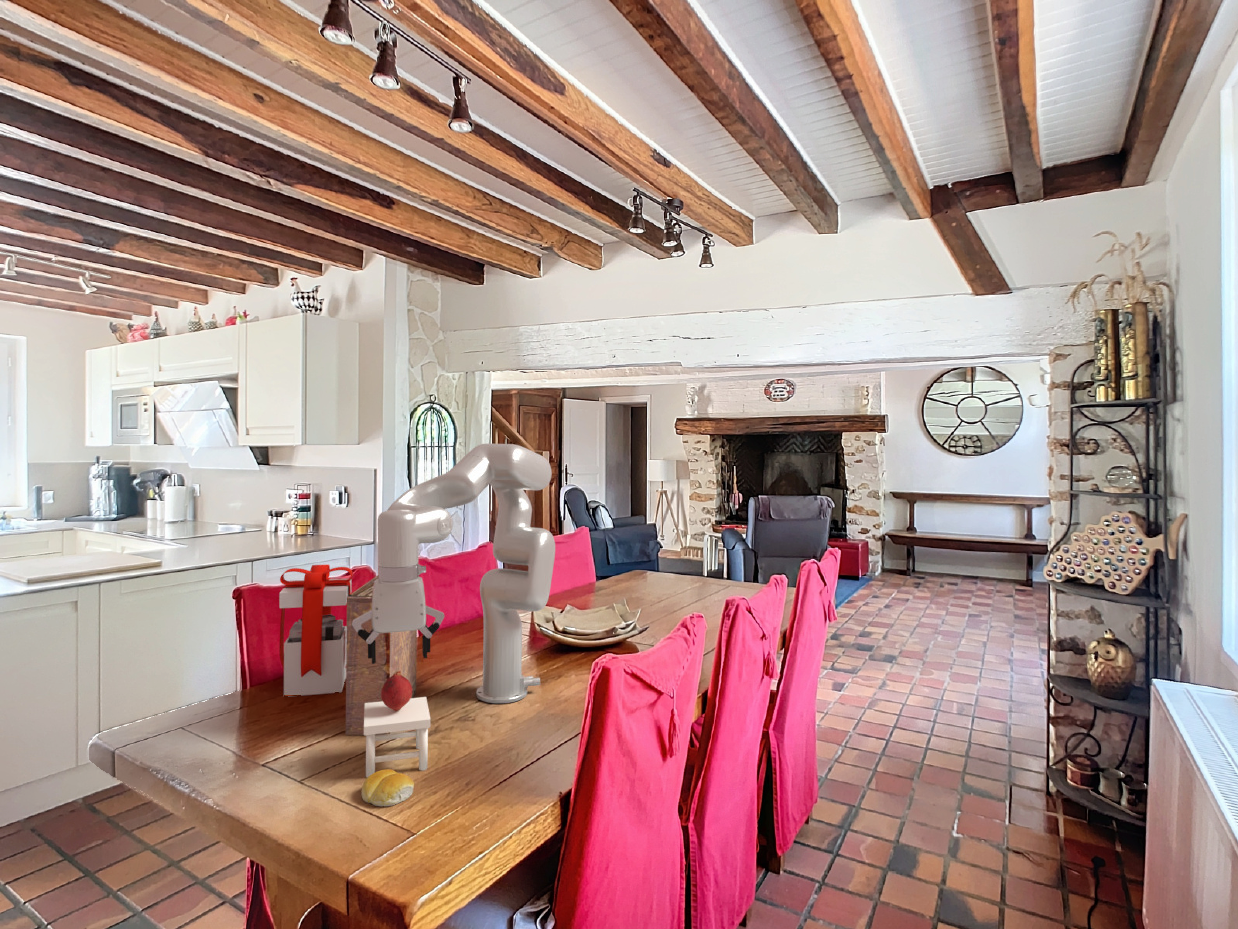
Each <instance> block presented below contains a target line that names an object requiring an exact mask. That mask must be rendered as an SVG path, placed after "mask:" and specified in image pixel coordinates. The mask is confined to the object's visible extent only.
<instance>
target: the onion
mask: <svg viewBox="0 0 1238 929" xmlns="http://www.w3.org/2000/svg"><path fill="white" fill-rule="evenodd" d="M411 696H412V686H411V683H410V682H409V681H408V679H406V678H405V677H404V676H402V675H401V671H400V670H397V671H396V672H395V673H394V674H393V676H391V677H390V678H389V679H388V680H387V681H386V682H385V683H384V685H383V687H382V690H381V698H382V701H383V702H384V704H385V705H386V706H387V707H389V708H391V709H393V710H395V711H399V710H400V709H401V708H402V707H403V706H404V705H406V704H407V703H408V702H409V700H410V699H411Z"/></svg>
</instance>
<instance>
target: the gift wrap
mask: <svg viewBox="0 0 1238 929" xmlns="http://www.w3.org/2000/svg"><path fill="white" fill-rule="evenodd" d="M330 567H331V566H330V564H312V565H311V568H310V570H308V569H305V568H299V567H298V568H297V567H295V568H292V567H291V568H289V569H286V570H285V571H284V572H283V573H282V574H281V576H280V577H279V578H280V579H279V581H280V583H281V584H282V585H284V586H283V587H282V590H281V591H280V592H279V596H278V598H279V605H278V606H279V609H281V610H280V612H281V613H280V614H281V615H280V623H279V624H280V625H279V626H280V627H279V628H280V629H279V659H280V664H281V666H282V669H283V696H284V695H301V696H312V695H325V694H334V693H335V692H339V693H343V690H344V686H345V683H346V644H347V625H344V619H336V618H337V617H336V616H335V615H333V614H332V607H337V606H347V596H349V595H350V594H352V578H353V576H354V572H353V570H352V569H351V568H350V567H347V566H337V567H332V568H330ZM336 571H345V572H348V573H349V575H350V577H349V578H331V577H330V573H331V572H336ZM292 572H293V573H296V572H297V573H300V574H304V578H303V579H302V580H301V579H298V580H297V579H296V580H294V579H293V580H290V581H289V580H286V579H285V574H287V573H292ZM292 608H294V609H295V608H302V609H301V610H302V611H301V618H300V619H298V621H295V622H294V623H293V625H292V626H291V628H290V629H289V635H288V637H287V638H286V640H285V639H284V638H285V613H286V609H292ZM284 640H285V641H284ZM344 682H345V683H344ZM335 694H336V693H335Z"/></svg>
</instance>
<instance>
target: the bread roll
mask: <svg viewBox="0 0 1238 929" xmlns="http://www.w3.org/2000/svg"><path fill="white" fill-rule="evenodd" d="M362 784H363V785H362V787H361V798H362V799H363V801H364V802H365V803H367V804H371V805H373V806H374V807H375V806H376V807H383V806H384V807H392V806H395V804H396V805H398V804H400V803H402V801H403V802H404V801H406V800H407V799H409V798H410V797H411V796H412V794H413V792H414V787H415V782H414V780H413V778H411V777H410V776H409V775H406V774H404V773H401V772H398V771H395V770H393V769H389V768H387V769H381V770H377V771H375V773H373V774H371V775H370V776H369V777H368V778H367V777H366V778H365V780H364V782H363V783H362Z"/></svg>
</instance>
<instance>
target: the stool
mask: <svg viewBox="0 0 1238 929" xmlns="http://www.w3.org/2000/svg"><path fill="white" fill-rule="evenodd" d="M429 728H431V714H430V710H429V704H428V699H427V696H422V697H421V696H420V697H413V698H411V699H410V700H409V702H408V703H407V704H406V705H404V706H403V707H402V708H401V709H400V710H399V711H395V710H393V709H391V708H389V707H387V706H386V705H385V704H384V702H383V701H381V702H372V703H365V709H364V735H363V736H365V778H366V779H367V778H368V777H369V776H370V775H371V774H373V773H375V772H376V764H377V763H383V762H389V761H390V762H392V761H397V760H398V761H399V760H405V759H412V758H418V770H419V771H427V770H428V752H429V751H428V750H429V749H428V748H429V747H428V743H429V740H428V739H429ZM389 732H391V733H390V734H385V735H375V734H380V733H389ZM395 732H396V733H395ZM412 737H415V749H416V751H409V752H400V753H393V754H385V755H378V756H376V742H381V741H388V740H397V739H405V738H412Z"/></svg>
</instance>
